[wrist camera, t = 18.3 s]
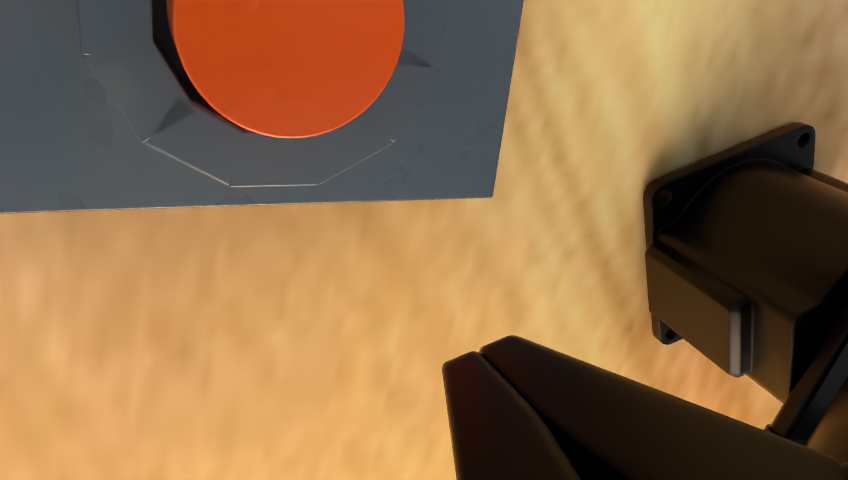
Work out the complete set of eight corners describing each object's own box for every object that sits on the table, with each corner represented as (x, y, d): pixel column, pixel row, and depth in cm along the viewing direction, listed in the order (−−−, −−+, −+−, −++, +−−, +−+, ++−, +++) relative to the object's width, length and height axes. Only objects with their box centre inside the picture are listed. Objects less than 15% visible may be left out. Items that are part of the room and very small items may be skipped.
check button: (384, -90, 14) (416, -87, 12) (368, 115, 15) (394, 139, 14) (162, -118, 12) (168, -119, 11) (169, 112, 14) (175, 139, 12)
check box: (514, -191, 17) (598, -207, 14) (463, 174, 20) (521, 222, 18) (-99, -309, 12) (-166, -370, 10) (-27, 183, 16) (-59, 249, 13)
